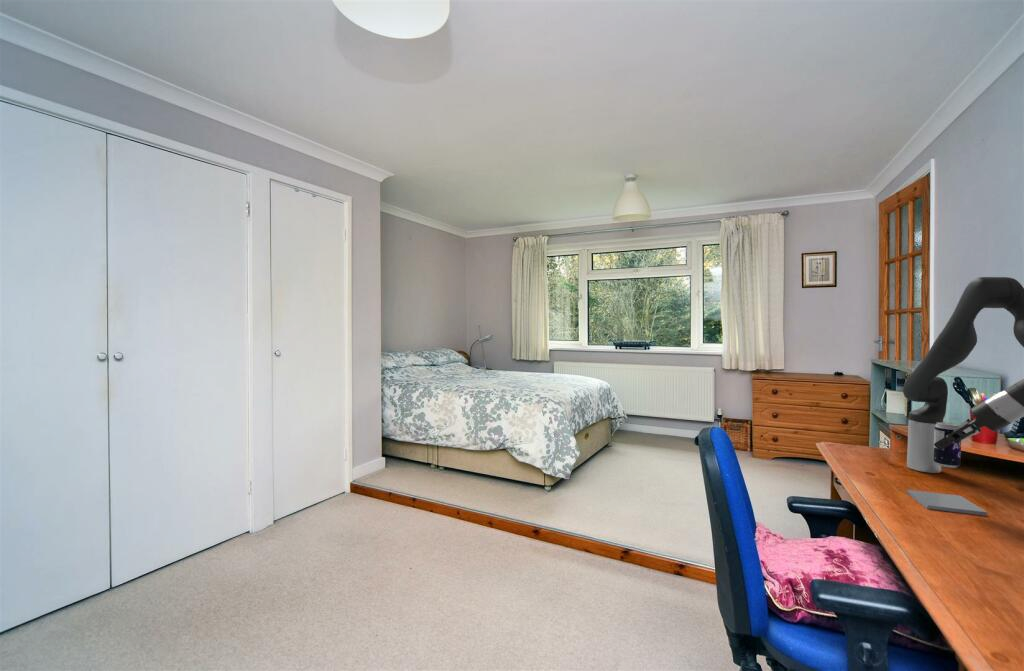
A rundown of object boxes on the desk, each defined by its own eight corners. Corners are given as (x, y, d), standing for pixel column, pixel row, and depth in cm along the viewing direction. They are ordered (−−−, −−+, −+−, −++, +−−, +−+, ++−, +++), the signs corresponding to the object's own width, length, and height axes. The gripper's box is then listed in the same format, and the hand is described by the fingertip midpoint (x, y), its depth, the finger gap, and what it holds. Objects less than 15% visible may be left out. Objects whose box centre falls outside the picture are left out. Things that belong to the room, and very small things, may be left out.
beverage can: (955, 469, 131) (956, 426, 130) (929, 464, 136) (930, 422, 135) (964, 467, 133) (965, 425, 133) (938, 461, 138) (940, 421, 138)
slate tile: (906, 493, 143) (906, 489, 143) (960, 499, 139) (960, 495, 139) (927, 508, 131) (927, 505, 131) (987, 515, 126) (987, 512, 126)
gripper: (989, 397, 133) (931, 431, 142) (982, 402, 124) (921, 438, 133) (1016, 418, 129) (955, 452, 138) (1011, 425, 120) (946, 461, 129)
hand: (939, 445), depth 136 cm, fingers closed on beverage can, 5 cm apart
